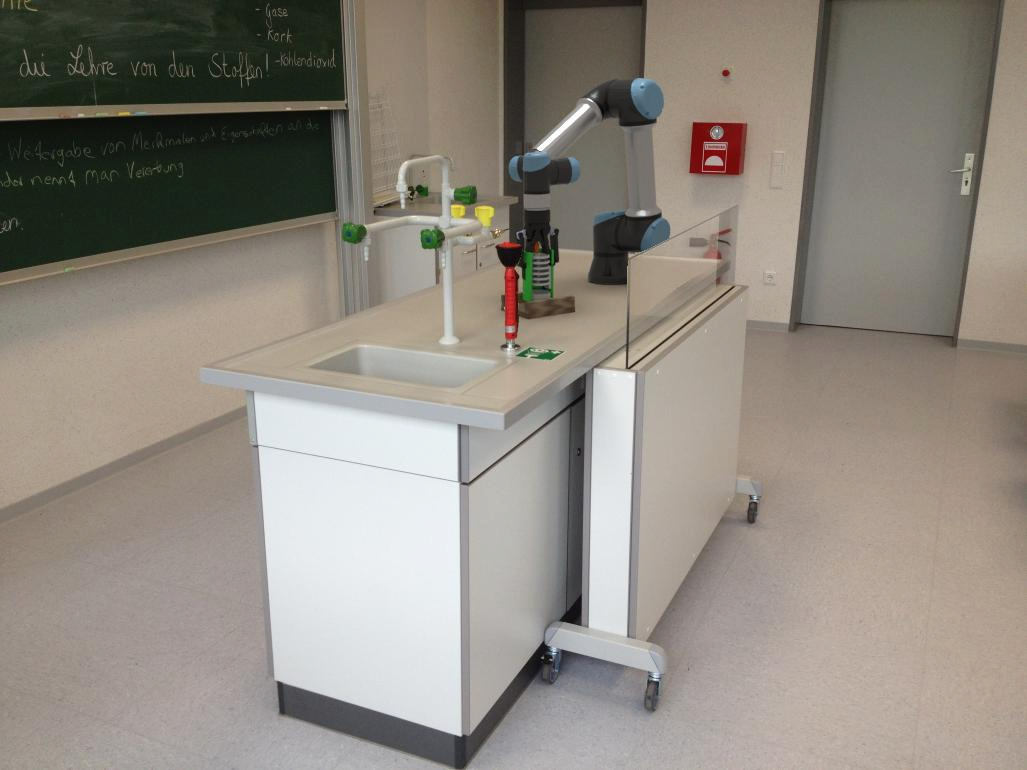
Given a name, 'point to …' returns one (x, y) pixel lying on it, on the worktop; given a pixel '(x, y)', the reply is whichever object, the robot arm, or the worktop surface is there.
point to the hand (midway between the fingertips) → (537, 289)
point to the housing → (543, 306)
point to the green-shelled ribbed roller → (537, 275)
